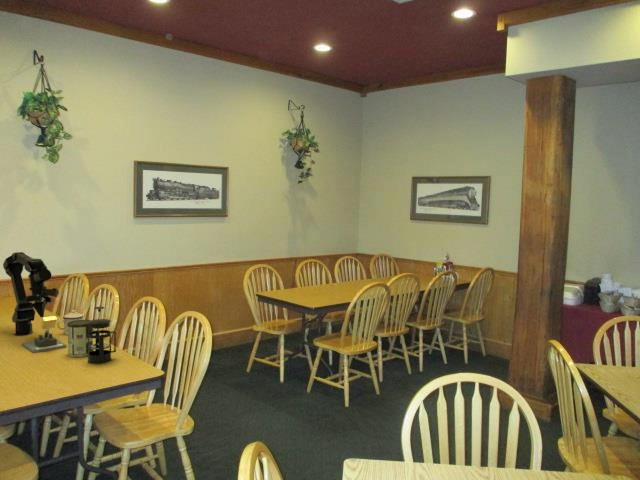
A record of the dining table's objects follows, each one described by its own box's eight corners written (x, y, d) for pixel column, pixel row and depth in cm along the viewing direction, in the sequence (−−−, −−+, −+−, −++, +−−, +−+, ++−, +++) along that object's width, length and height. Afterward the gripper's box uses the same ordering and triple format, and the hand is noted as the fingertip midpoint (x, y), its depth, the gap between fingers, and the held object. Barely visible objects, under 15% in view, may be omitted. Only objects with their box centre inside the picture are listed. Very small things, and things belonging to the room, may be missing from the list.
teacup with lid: (82, 330, 276) (81, 308, 275) (84, 334, 268) (84, 311, 267) (56, 332, 270) (56, 310, 269) (58, 337, 262) (57, 313, 261)
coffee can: (87, 349, 243) (86, 318, 242) (97, 353, 236) (96, 322, 235) (63, 353, 235) (63, 321, 234) (73, 358, 228) (73, 326, 227)
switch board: (22, 345, 246) (21, 332, 245) (54, 340, 256) (54, 328, 255) (33, 353, 234) (33, 339, 234) (66, 347, 244) (66, 334, 244)
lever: (39, 335, 242) (43, 317, 237) (51, 334, 245) (55, 316, 240) (40, 338, 241) (44, 320, 236) (52, 337, 244) (56, 319, 239)
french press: (87, 365, 220) (87, 310, 218) (84, 359, 227) (83, 306, 226) (117, 361, 226) (117, 307, 224) (113, 355, 234) (113, 303, 232)
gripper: (48, 279, 247) (53, 312, 245) (61, 283, 265) (66, 314, 263) (22, 284, 245) (27, 318, 242) (37, 287, 263) (42, 319, 261)
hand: (42, 317), depth 252 cm, fingers closed
